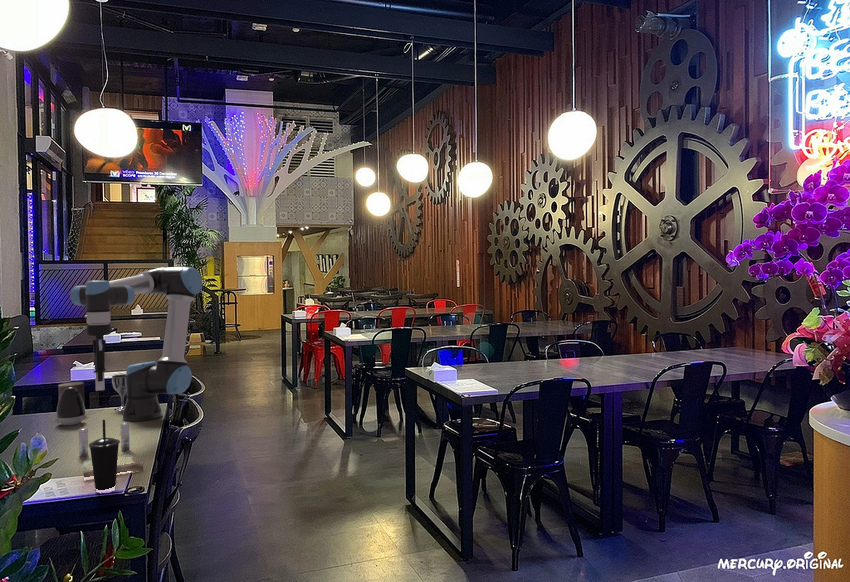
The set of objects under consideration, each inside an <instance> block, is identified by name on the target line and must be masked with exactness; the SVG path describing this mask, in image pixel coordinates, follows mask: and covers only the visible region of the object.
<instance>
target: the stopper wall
mask: <svg viewBox="0 0 850 582" xmlns="http://www.w3.org/2000/svg"><path fill="white" fill-rule="evenodd" d="M127 471H133V472H136V471H143V472H144V462H143V461H138V462H135V463H131V464H124V465H118V466H117V473H120V472H127ZM82 472H83V475H82V477H83V476H84V477H90V476H94V474H93V470H86V471H85V470H83V471H82Z"/></svg>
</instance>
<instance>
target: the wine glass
mask: <svg viewBox="0 0 850 582" xmlns="http://www.w3.org/2000/svg"><path fill="white" fill-rule="evenodd" d="M111 383H112V387H113V389H114V390H115V392H117V393H118V394H119V396H120V401H121V402H120V403H121V405H120V406H119V407H116V408H117V409H124V408H125V404H124V402H125V401H124V400H125V399H124V398H125V395H126V394H127V386H126V374H125V373H123V374H115V375H112V376H111Z"/></svg>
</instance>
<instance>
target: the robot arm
mask: <svg viewBox="0 0 850 582" xmlns="http://www.w3.org/2000/svg"><path fill="white" fill-rule="evenodd" d="M202 288H203V279H202V275H201V273H200V272H199V271H198V270H197V269H196V268H195V267H191V266H172V267H171V266H165V267H156V268H154V269H149V270H145V271H141V272H138V273H137V274H136V275H132V276H127V277H123V278H119V279H113V280H109V281H108V280H88V281H87V282H86V283H85V285H83V284H81V285H76V286H74V287H73V288H72V289H71V291H70V300H71V302H72V303H73V304H74V305H75V306H81V307H85V308H86V311H85V312H86V314H85V315H84V318H85V319H86V324H88V325H86V335H87V336H88V337H89V336H90V337H91V336H93V337H94V340H93V339H92V341H91V343H92V346H93V347H92V348H93V353H94V370H93V373H94V374H95V376H94V378H95V391H96V392H98V391H105V389H106V388H105V386H106V385H105V384H106V383H105V372H106V368H105V366H106V364H105V353H106V344H107V342H106V339H104V336H109V335H111V324H110V323H111V307H120V306H121V307H123V306H124V307H125V306H129V305H130V304H132V303H133V302H134V301H135V298H136V296H135V295H138V294H139V295H140V294H142V295H149V294H159V295H161V294H162V295H163V294H164V295H165V298H166V299H167V300H168V307H167V316H166V321H165V322H166V323H165V330H164V331H165V332H164V338H163V339H164V340H163V347H162V354H161V355H162V356H161V357H160V358H159V359H158V360H157V361H154V360H153V361H145V362H140V363H139V362H138V363H134V364H130V365H128V366H127V367H126V371H125V372H126V386H127V392H126V402H125V404H124V406H125V408H124V410H122V411H123V412H122V420H123V421H127V422H144V421H151V420H154V419H155V420H156V419H159V418H160V417H162V416H163V410H162V406H161V404H160V402H159V399H158V394H159V395H161V394H163V395H164V394H165V395H180V394H182V393H184V392H186V391H187V389H188V388H189V387H190V385H191V382H192V378H193V375H192V374H193V373H192V370H191V368H190V367H189V366H188V361H187V360H186V359H185V351H186V344H187V335H188V328H189V327H188V326H189V318H190V311H191V310H190V308H191V303H192V302H193V301H195V300H196V295H198V294H200V292H201V291H202ZM158 417H159V418H158ZM143 420H144V421H143Z"/></svg>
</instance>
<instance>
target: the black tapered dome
mask: <svg viewBox="0 0 850 582" xmlns="http://www.w3.org/2000/svg"><path fill="white" fill-rule="evenodd" d="M79 392H81V390H80V389H79V390H77V389H76V388H75V387H67V388H66V389H64V391H63V392H62V394H61V396H60V399H59V398H58V403H57V407H56V418H57V420H58V422H59V424H61V425H62V426H67V425H68V426H74V425H78V424H80V423H81V422H82V421H83V420H84V418H85V415H86V406H85V407H84V403H85V402H84V403H83V400H82V397H81V395H80V393H79Z"/></svg>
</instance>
